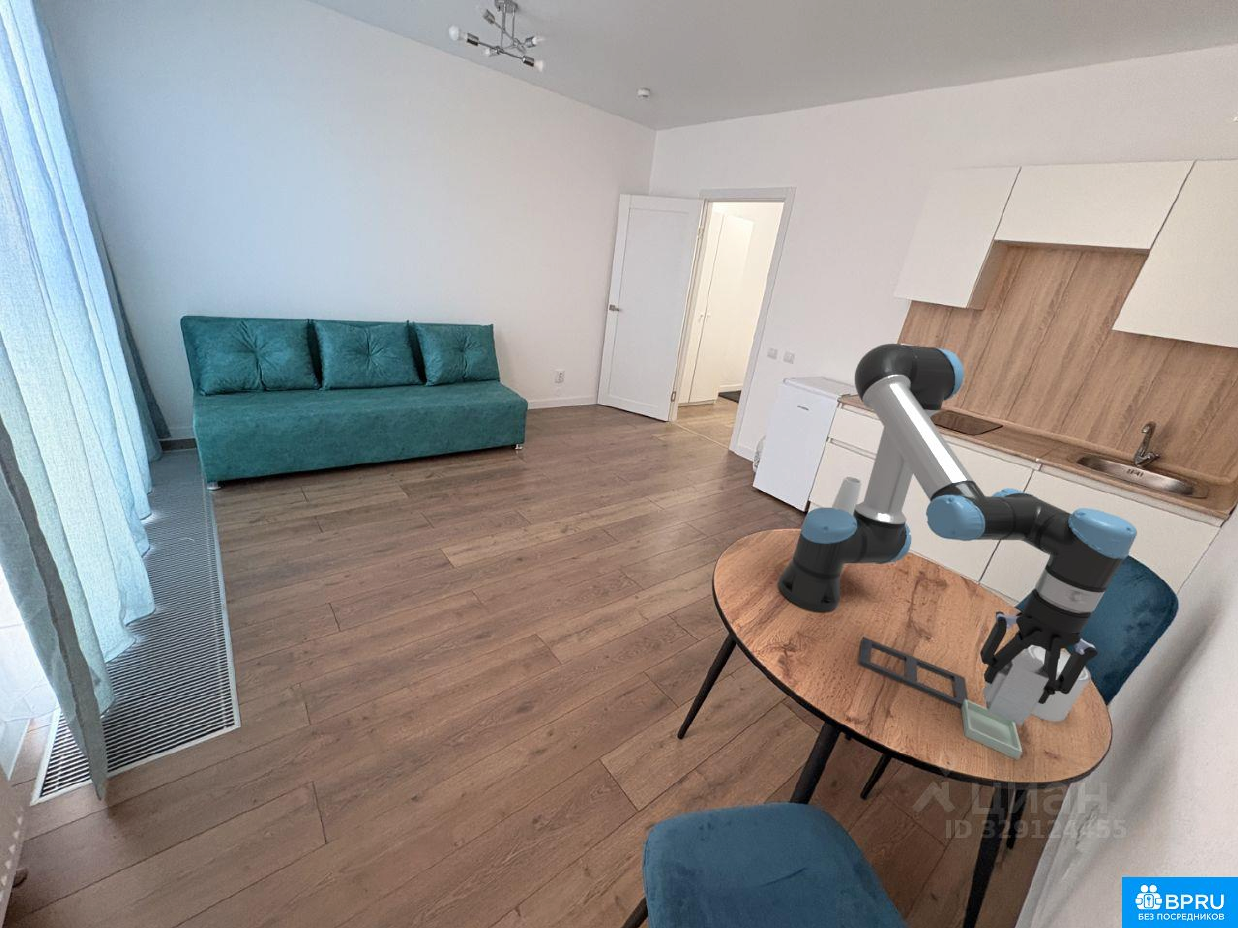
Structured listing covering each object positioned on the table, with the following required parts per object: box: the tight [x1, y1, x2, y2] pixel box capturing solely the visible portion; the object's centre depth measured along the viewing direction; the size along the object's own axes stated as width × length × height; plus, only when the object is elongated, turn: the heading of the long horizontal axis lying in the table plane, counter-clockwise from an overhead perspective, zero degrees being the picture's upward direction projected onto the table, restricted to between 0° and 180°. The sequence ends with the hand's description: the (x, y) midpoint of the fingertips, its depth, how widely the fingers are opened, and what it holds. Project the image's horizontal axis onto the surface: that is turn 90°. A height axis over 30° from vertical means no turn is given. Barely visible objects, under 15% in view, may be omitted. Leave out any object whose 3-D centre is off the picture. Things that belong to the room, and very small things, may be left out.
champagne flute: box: [830, 476, 862, 515], centre depth 142 cm, size 7×7×24 cm
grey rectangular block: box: [985, 652, 1049, 727], centre depth 84 cm, size 5×5×11 cm
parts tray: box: [960, 699, 1023, 761], centre depth 88 cm, size 8×8×2 cm
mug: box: [1021, 645, 1092, 723], centre depth 97 cm, size 14×10×11 cm
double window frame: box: [858, 636, 969, 709], centre depth 101 cm, size 20×9×1 cm, turn 59°
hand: (1004, 703), depth 86 cm, fingers closed on grey rectangular block, 5 cm apart
